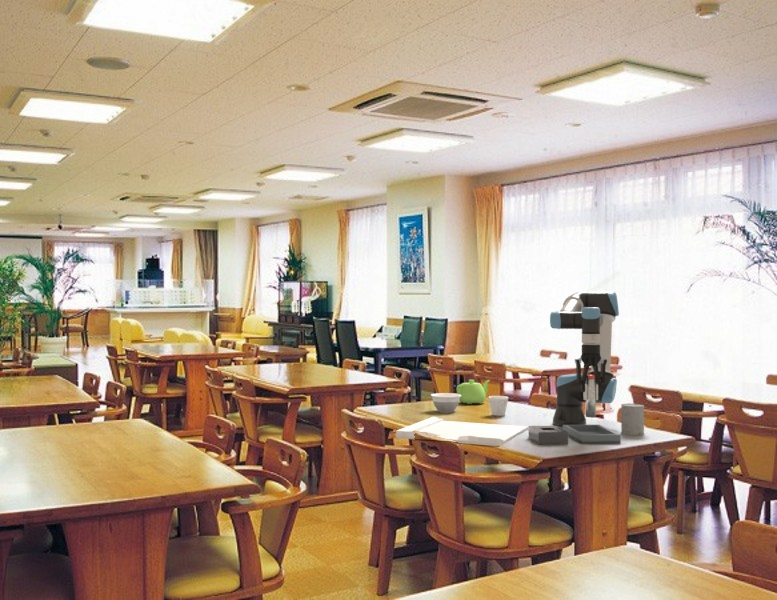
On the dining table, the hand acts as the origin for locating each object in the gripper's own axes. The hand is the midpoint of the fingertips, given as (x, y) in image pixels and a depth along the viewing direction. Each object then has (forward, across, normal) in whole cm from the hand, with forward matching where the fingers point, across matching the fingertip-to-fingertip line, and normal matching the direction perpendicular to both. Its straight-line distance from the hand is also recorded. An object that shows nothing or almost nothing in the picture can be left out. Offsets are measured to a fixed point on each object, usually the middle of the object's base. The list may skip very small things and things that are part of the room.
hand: (590, 399), depth 334 cm
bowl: (+16, -49, +82) cm, 97 cm away
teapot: (+16, -29, +113) cm, 118 cm away
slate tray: (+16, 0, 0) cm, 16 cm away
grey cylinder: (+16, +22, +10) cm, 29 cm away
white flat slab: (+17, -51, +15) cm, 56 cm away
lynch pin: (+7, 0, 0) cm, 7 cm away
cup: (+16, -25, +66) cm, 73 cm away
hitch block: (+16, -20, -6) cm, 26 cm away
